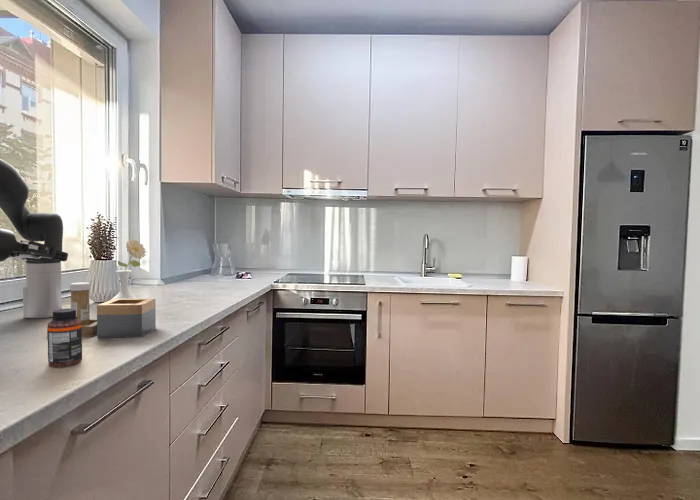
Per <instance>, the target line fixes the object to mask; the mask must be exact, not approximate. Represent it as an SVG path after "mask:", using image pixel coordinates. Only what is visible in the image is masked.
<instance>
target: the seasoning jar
mask: <svg viewBox="0 0 700 500" xmlns="http://www.w3.org/2000/svg"><path fill="white" fill-rule="evenodd" d="M69 290H70V308H73V309H76V317H77V318H78V319H80V320H81V324H82V325H90V320H89V319H91V317H90V316H91V315H90V311H91V309H90V290H91V284H90V282H86V281H85V282H84V281H83V282H82V281H81V282H80V281H79V282H72V283H70V284H69Z"/></svg>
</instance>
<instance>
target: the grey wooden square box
mask: <svg viewBox="0 0 700 500" xmlns="http://www.w3.org/2000/svg"><path fill="white" fill-rule="evenodd" d="M156 316H157V314H156V298H155V297H153V298H137V299H113V300H111V299H110V300H108V301H105V302H102V303H99V304H96V319H97V334H96V335H97V336H96V338H97V339H103V338H104V339H105V338H106V339H109V338H110V339H112V338H115V339H116V338H143V337H144V336H146V335H147V334H149V333H150V332H152V331H153V330H156V328H157V327H156V326H157V325H156V323H157V322H156V321H157V320H156Z"/></svg>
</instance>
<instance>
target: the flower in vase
mask: <svg viewBox="0 0 700 500" xmlns="http://www.w3.org/2000/svg"><path fill="white" fill-rule="evenodd" d="M125 245H126V251H127V252H128V254H129V255H130V257H129V261H128V263H125V262H122V261H119V260H118V261H117V264H118V266H120V267H123V268H124V269H121V270H120V269H119V270H115V272H116V273H117V275H118V278H119V282H120V283H119V284H120V287H119V288H120V290H119V292H118V293H117V294H116V295H115V296H113V297H112V298H111V299H110V300H113V299H138V298H137V296H135V295H133V294H132V293H130V291H129V288H128V286H129V285H128V282H129V281H128V280H129V277H130V274H131V272H133V271H132V270H130V269H127V268H128V267H129V264H130V265H131V266H132V267H134V268H137V267H139V266H141V262H139V261H138V260H136V259H139V260H142V259H143V258H145V256H146V252H147V251H146V248H145V247H144V245H143V244H141V243H140V241H138V239H133V238H130V239H129V240H128V241H126V244H125ZM132 258H135V259H132ZM131 259H132V260H131Z"/></svg>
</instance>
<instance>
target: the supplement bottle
mask: <svg viewBox="0 0 700 500" xmlns="http://www.w3.org/2000/svg"><path fill="white" fill-rule="evenodd" d="M47 333H48V337H47V361H48V366H49V367H52V368H68V367H72V366H75V365H78V364H80V363H81V362H82V361H83V336H82V324H81V320H80V319H78V318H77V317H76V309H73V308H71V307H70V308H69V307H68V308H62V309H57V310H54V311H53V317H52V319H51V321H49V322H48V323H47V327H46V334H47Z"/></svg>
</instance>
